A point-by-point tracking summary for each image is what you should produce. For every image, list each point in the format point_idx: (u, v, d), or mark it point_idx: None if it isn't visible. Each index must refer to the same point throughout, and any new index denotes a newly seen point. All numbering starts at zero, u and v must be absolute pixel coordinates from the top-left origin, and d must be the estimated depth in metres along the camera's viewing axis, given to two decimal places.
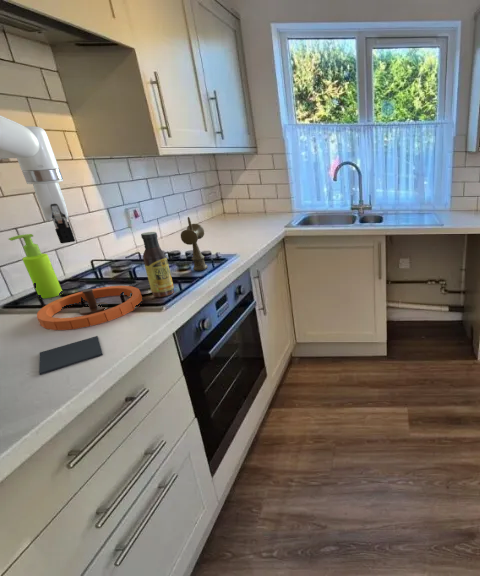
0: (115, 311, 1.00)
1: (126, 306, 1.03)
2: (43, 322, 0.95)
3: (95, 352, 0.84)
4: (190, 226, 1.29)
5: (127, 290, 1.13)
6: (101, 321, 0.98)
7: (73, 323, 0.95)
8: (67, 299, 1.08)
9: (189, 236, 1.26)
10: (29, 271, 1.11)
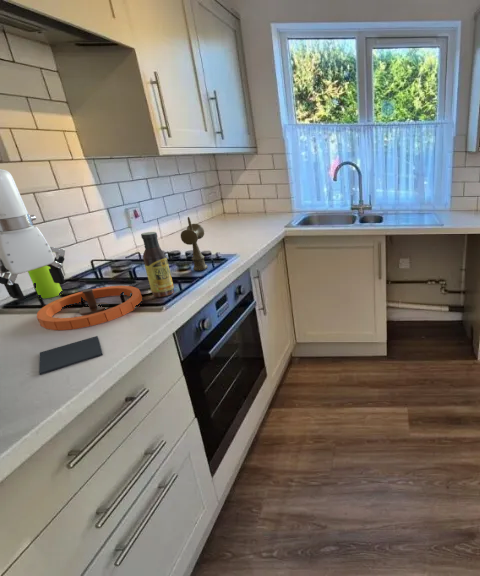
0: (115, 311, 1.00)
1: (126, 306, 1.03)
2: (43, 322, 0.95)
3: (95, 352, 0.84)
4: (190, 226, 1.29)
5: (127, 290, 1.13)
6: (101, 321, 0.98)
7: (73, 323, 0.95)
8: (67, 299, 1.08)
9: (189, 236, 1.26)
10: (29, 271, 1.11)
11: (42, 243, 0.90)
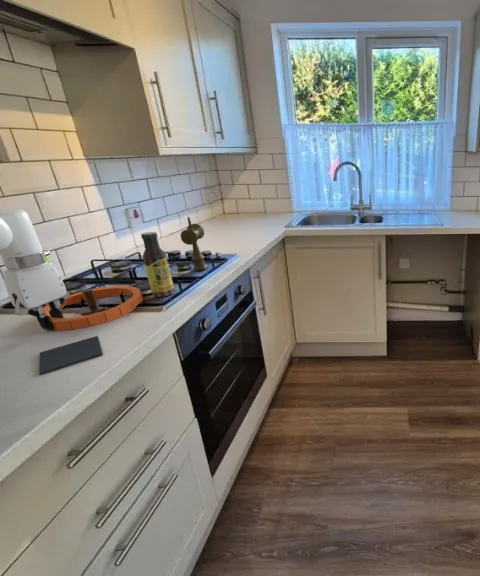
0: (115, 312, 1.00)
1: (126, 306, 1.02)
2: None
3: (95, 352, 0.84)
4: (190, 226, 1.29)
5: (128, 290, 1.13)
6: (101, 321, 0.98)
7: (73, 323, 0.94)
8: (68, 299, 1.08)
9: (189, 236, 1.26)
10: None
11: (55, 277, 0.93)
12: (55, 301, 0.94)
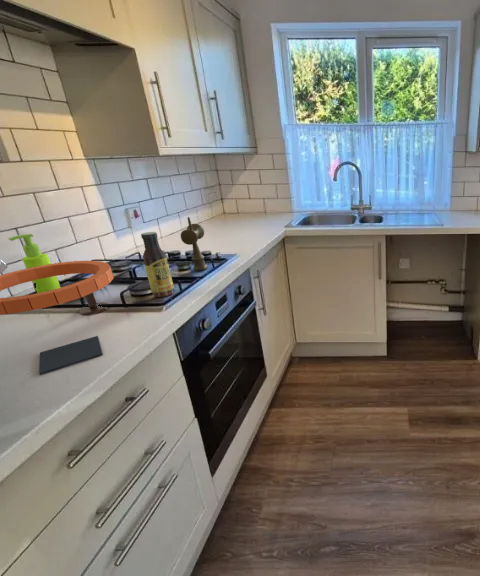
0: (70, 291, 0.72)
1: (87, 284, 0.75)
2: None
3: (95, 352, 0.84)
4: (190, 226, 1.29)
5: (94, 266, 0.86)
6: (49, 304, 0.70)
7: (7, 305, 0.67)
8: (12, 276, 0.81)
9: (189, 236, 1.26)
10: None
11: None
12: None
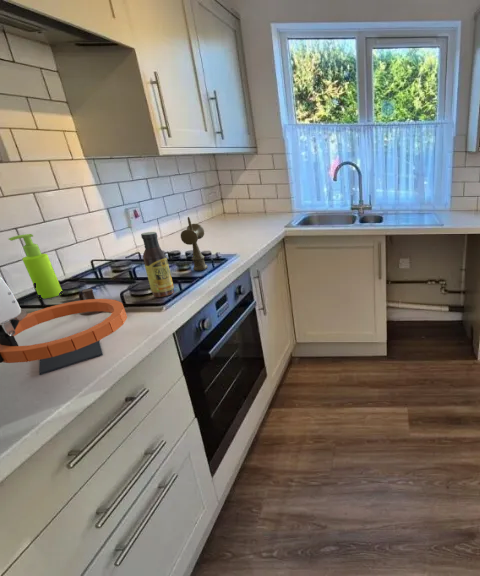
0: (86, 336, 0.75)
1: (102, 328, 0.78)
2: None
3: (95, 352, 0.84)
4: (190, 226, 1.29)
5: (108, 305, 0.89)
6: (67, 350, 0.73)
7: (28, 354, 0.70)
8: (30, 317, 0.84)
9: (189, 236, 1.26)
10: (29, 271, 1.11)
11: (3, 292, 0.69)
12: (4, 324, 0.70)
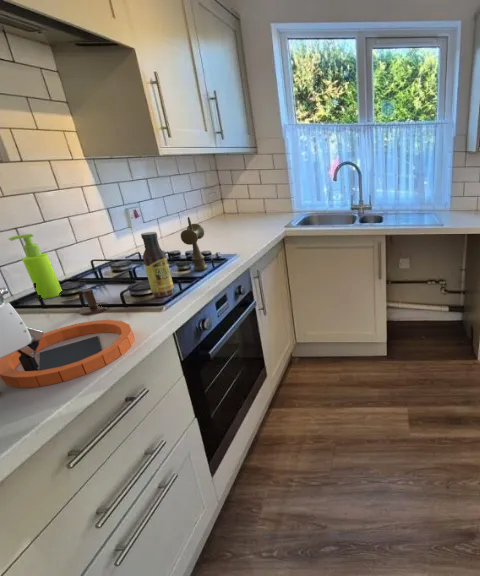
0: (96, 361, 0.78)
1: (111, 352, 0.80)
2: (2, 377, 0.73)
3: (95, 352, 0.84)
4: (190, 226, 1.29)
5: (116, 326, 0.91)
6: (77, 374, 0.75)
7: (40, 379, 0.72)
8: None
9: (189, 236, 1.26)
10: (29, 271, 1.11)
11: (15, 323, 0.71)
12: (23, 349, 0.73)
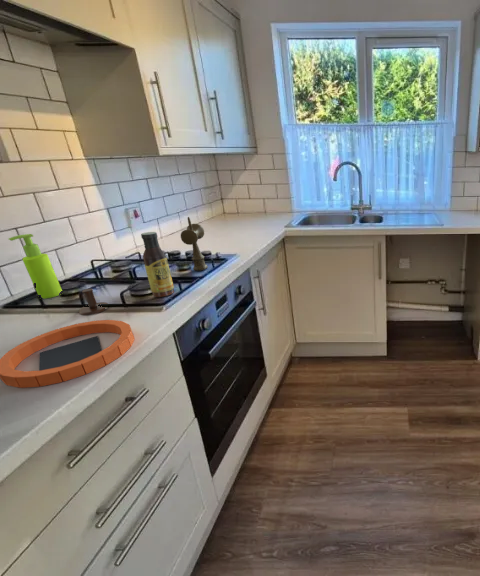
0: (96, 361, 0.78)
1: (111, 352, 0.80)
2: (2, 377, 0.73)
3: (95, 352, 0.84)
4: (190, 226, 1.29)
5: (116, 326, 0.91)
6: (77, 374, 0.75)
7: (40, 379, 0.72)
8: (40, 339, 0.86)
9: (189, 236, 1.26)
10: (29, 271, 1.11)
11: None
12: None
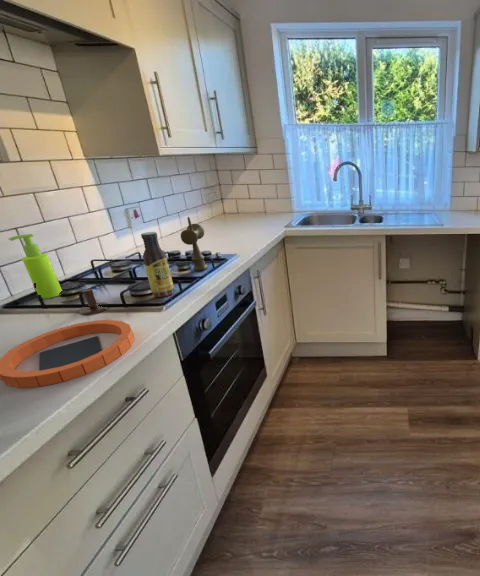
0: (96, 361, 0.78)
1: (111, 352, 0.80)
2: (2, 377, 0.73)
3: (95, 352, 0.84)
4: (190, 226, 1.29)
5: (116, 326, 0.91)
6: (77, 374, 0.75)
7: (40, 379, 0.72)
8: (40, 339, 0.86)
9: (189, 236, 1.26)
10: (29, 271, 1.11)
11: None
12: None
